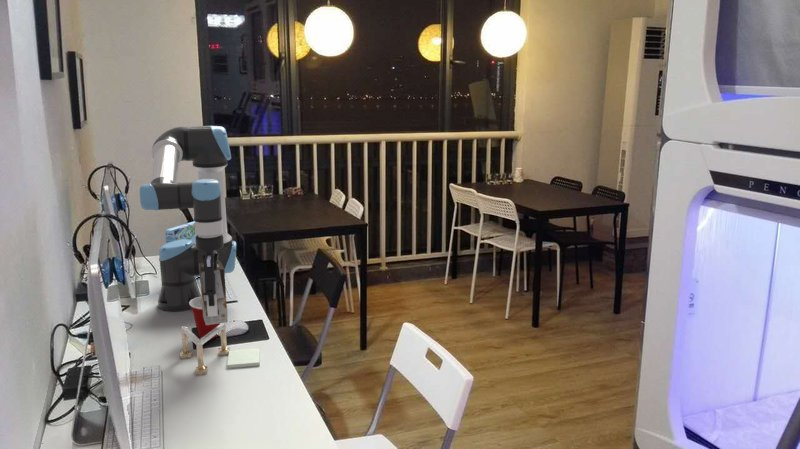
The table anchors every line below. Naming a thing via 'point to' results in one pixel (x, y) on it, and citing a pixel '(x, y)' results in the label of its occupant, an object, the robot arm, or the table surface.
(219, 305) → the coffee box
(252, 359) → the end plate
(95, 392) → the table surface
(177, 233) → the gum box
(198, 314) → the plastic cup
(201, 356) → the three-legged tripod stand
